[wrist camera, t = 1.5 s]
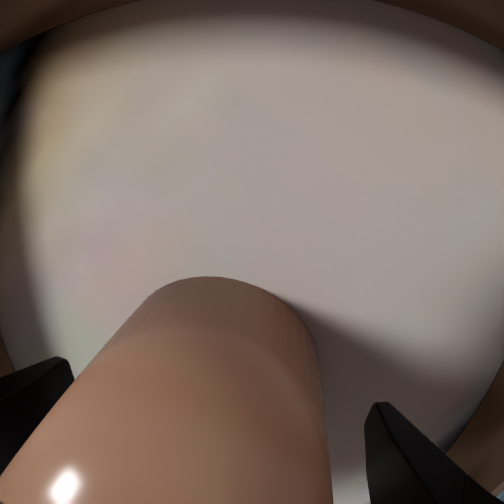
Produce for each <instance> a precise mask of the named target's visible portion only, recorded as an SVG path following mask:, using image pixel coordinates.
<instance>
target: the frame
mask: <svg viewBox="0 0 504 504" xmlns="http://www.w3.org/2000/svg"><path fill="white" fill-rule="evenodd" d="M132 1H136V0H0V54H2V53H4V52H5V51H7V50H9V49H11V48H13V47H14V46H16V45H18V44H20V43H22V42H24V41H26V40H28V39H30V38H32V37H34V36H36V35H38V34H40V33H42V32H45V31H47V30H49V29H51V28H54V27H56V26H58V25H61V24H63V23H66V22H68V21H71V20H74V19H76V18H79V17H82V16H85V15H87V14H90V13H93V12H96V11H99V10H103V9H106V8H109V7H113V6H116V5H120V4H124V3H128V2H132ZM377 1H381V2H385V3H389V4H392V5H396V6H400V7H403V8H406V9H410V10H413V11H416V12H419V13H422V14H425V15H428V16H431V17H433V18H436V19H439V20H441V21H444V22H446V23H449V24H451V25H454V26H456V27H458V28H461V29H463V30H465V31H467V32H470V33H472V34H474V35H476V36H478V37H480V38H482V39H484V40H486V41H488V42H490V43H492V44H494V45H496V46H497V47H499V48H501V49H503V50H504V0H377ZM13 372H15V371H14V369H13V366H12V364H11V362H10V359H9V357H8V354H7V352H6V349H5V346H4V344H3V341H2V338H1V335H0V377H3V376H5V375H8V374H11V373H13ZM446 455H447V456H448V457H449V458H450V459H451V460H452V461H454V462H455V463H456V464H457V465H458V466H459V467H460V468H461V469H462V470H464V471H465V472H466V475H467V474H468V475H469V476H470V477H472V478H473V479H474V480H475V481H476V482H477V483H478V484H480V485H481V486H482V487H483V488H484V489H486V490H487V491H488V492H490V493H491V494H492V495H494V496H495V497H496V496H497V495H498V494H499V493H500V492H501V491H502V490H504V362H503V364H502V366H501V368H500V370H499V372H498V374H497V376H496V378H495V379H494V381H493V383H492V385H491V387H490V389H489V390H488V392H487V394H486V396H485V397H484V399H483V401H482V402H481V404H480V406H479V407H478V409H477V410H476V412H475V414H474V415H473V417H472V418H471V420H470V421H469V423H468V424H467V426H466V427H465V429H464V430H463V432H462V433H461V435H460V436H459V437H458V439H457V440H456V441H455V443H454V444H453V446H452V447H451V448H450V449H449V451H448V452H447V453H446Z"/></svg>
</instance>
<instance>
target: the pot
mask: <svg viewBox="0 0 504 504" xmlns="http://www.w3.org/2000/svg"><path fill="white" fill-rule="evenodd" d="M0 504H333V492H332V480H331V469H330V459H329V449H328V439H327V430H326V422H325V413H324V405H323V397H322V390H321V382H320V375H319V368H318V361H317V354H316V349H315V345H314V342H313V339H312V337H311V334H310V332H309V331H308V329H307V327H306V326H305V324H304V323H303V321H302V320H301V319H300V318H299V316H298V315H297V314H296V313H295V312H294V311H293V310H292V309H291V308H290V307H289V306H288V305H287V304H285V303H284V302H283V301H281V300H280V299H278V298H277V297H276V296H274V295H272V294H270V293H269V292H267V291H265V290H263V289H261V288H259V287H256V286H254V285H251V284H249V283H246V282H242V281H238V280H235V279H229V278H223V277H206V276H203V277H193V278H187V279H183V280H178V281H175V282H173V283H170V284H167V285H165V286H163V287H162V288H160V289H158V290H156V291H155V292H154V293H153V294H151V295H150V296H149V297H148V298H147V299H146V300H145V301H144V302H143V303H142V304H141V305H140V306H139V307H138V308H137V310H136V311H135V312H134V313H133V314H132V315H131V316H130V317H129V318H128V320H127V321H126V322H125V323H124V324H123V325H122V326H121V327H120V328H119V330H118V331H117V332H116V333H115V334H114V335H113V336H112V338H111V339H110V340H109V341H108V342H107V343H106V344H105V346H104V347H103V348H102V349H101V350H100V351H99V352H98V354H97V355H96V356H95V357H94V358H93V359H92V361H91V362H90V363H89V364H88V365H87V366H86V368H85V369H84V370H83V371H82V372H81V373H80V375H79V376H78V377H77V378H76V379H75V381H74V382H73V383H72V384H71V385H70V387H69V388H68V389H67V390H66V391H65V393H64V394H63V395H62V396H61V398H60V399H59V400H58V401H57V403H56V404H55V405H54V406H53V407H52V409H51V410H50V411H49V412H48V414H47V415H46V416H45V417H44V419H43V420H42V421H41V423H40V424H39V425H38V426H37V428H36V429H35V430H34V432H33V433H32V434H31V435H30V437H29V438H28V439H27V441H26V442H25V443H24V445H23V446H22V447H21V449H20V450H19V451H18V453H17V454H16V455H15V457H14V458H13V459H12V461H11V462H10V463H9V465H8V466H7V468H6V469H5V470H4V472H3V473H2V475H1V476H0Z"/></svg>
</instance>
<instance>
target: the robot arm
mask: <svg viewBox="0 0 504 504" xmlns="http://www.w3.org/2000/svg"><path fill="white" fill-rule="evenodd" d="M74 381H75V380H74V376H73V373H72V370H71V367H70V364H69V362H68V361H67V360H66V359H64V358H61V357H58V356H55V357H53V358H50V359H47V360H45V361H42V362H40V363H37V364H35V365H32V366H29V367H27V368H24V369H21V370H19V371H16V372H13V373H11V374H8V375H5V376H3V377H0V476H1V475H2V473H3V472H4V470H5V469H6V468H7V466H8V465H9V463H10V462H11V461H12V459H13V458H14V457H15V455H16V454H17V453H18V451H19V450H20V449H21V447H22V446H23V445H24V443H25V442H26V441H27V439H28V438H29V437H30V435H31V434H32V433H33V432H34V430H35V429H36V428H37V426H38V425H39V424H40V423H41V421H42V420H43V419H44V417H45V416H46V415H47V414H48V412H49V411H50V410H51V409H52V407H53V406H54V405H55V404H56V403H57V401H58V400H59V399H60V398H61V396H62V395H63V394H64V393H65V391H66V390H67V389H68V388H69V387H70V385H71V384H72V383H73V382H74ZM364 434H365V453H366V474H367V481H368V488H369V494H370V501H371V504H504V502H502V501H501V500H499V499H498V498H497V497H495V496H494V495H492V494H491V493H490V492H488V491H487V490H486V489H484V488H483V487H482V486H481V485H480V484H478V483H477V482H476V481H475V480H474V479H473V478H472V477H470V476H469V475H468V474H467V475H466V472H465V471H464V470H462V469H461V468H460V467H459V466H458V465H457V464H456V463H455V462H454V461H452V460H451V459H450V458H449V457H448V456H447V455H446V454H445V453H444V452H442V451H441V450H440V449H439V448H438V447H437V446H436V445H435V444H434V443H433V442H431V441H430V440H429V439H428V438H427V437H426V436H425V435H424V434H423V433H422V432H421V431H419V430H418V429H417V428H416V427H415V426H414V425H413V424H412V423H411V422H410V421H409V420H408V419H406V418H405V417H404V416H403V415H402V414H401V413H400V412H399V411H398V410H397V409H396V408H395V407H393V406H392V405H391V404H390V403H389V402H376V403H374V404H373V405H372V407H371V409H370V412H369V414H368V416H367V419H366V421H365V425H364Z"/></svg>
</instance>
